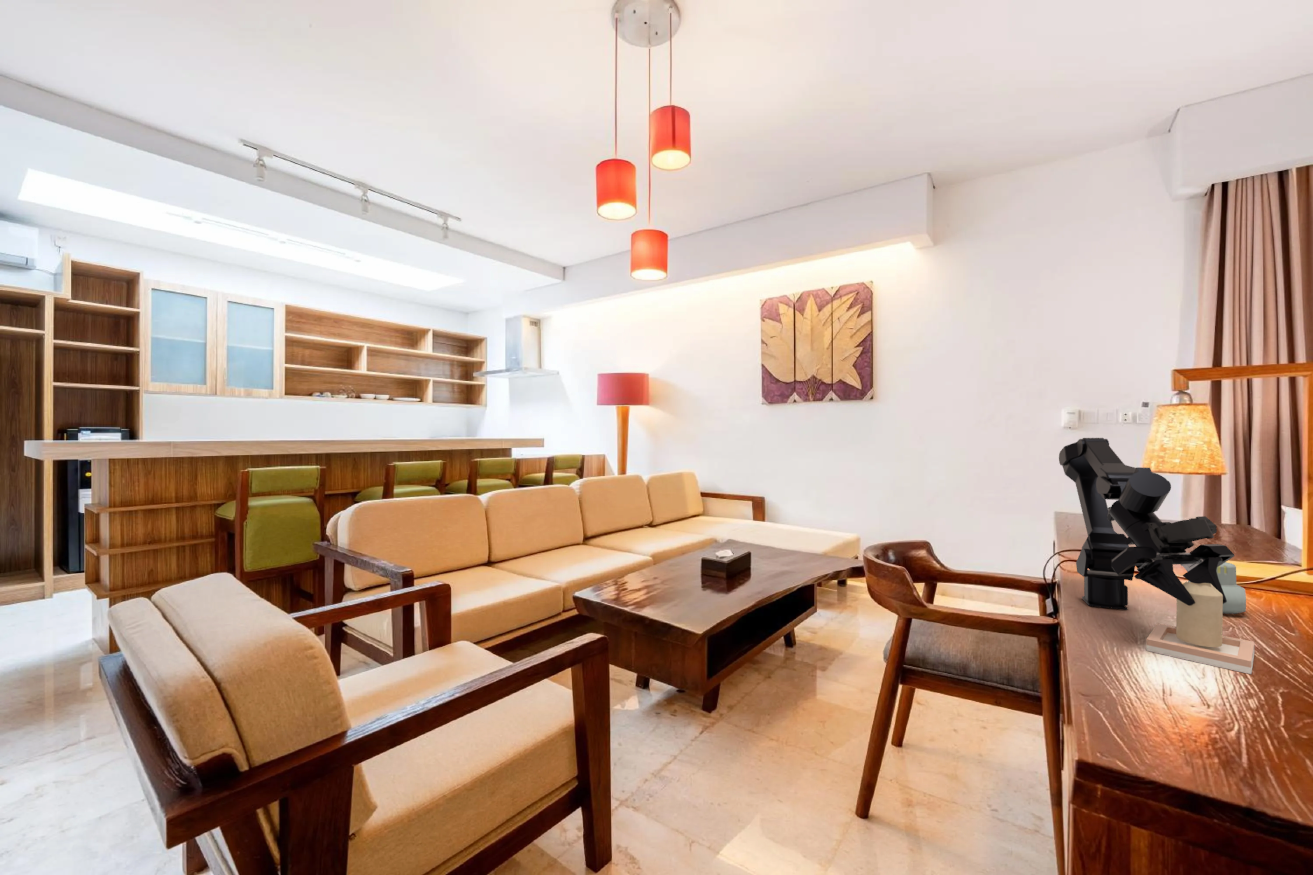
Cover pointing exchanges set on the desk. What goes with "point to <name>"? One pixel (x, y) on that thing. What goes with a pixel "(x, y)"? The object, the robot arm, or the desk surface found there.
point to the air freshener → (1231, 589)
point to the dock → (1203, 649)
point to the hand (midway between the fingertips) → (1208, 603)
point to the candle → (1201, 616)
